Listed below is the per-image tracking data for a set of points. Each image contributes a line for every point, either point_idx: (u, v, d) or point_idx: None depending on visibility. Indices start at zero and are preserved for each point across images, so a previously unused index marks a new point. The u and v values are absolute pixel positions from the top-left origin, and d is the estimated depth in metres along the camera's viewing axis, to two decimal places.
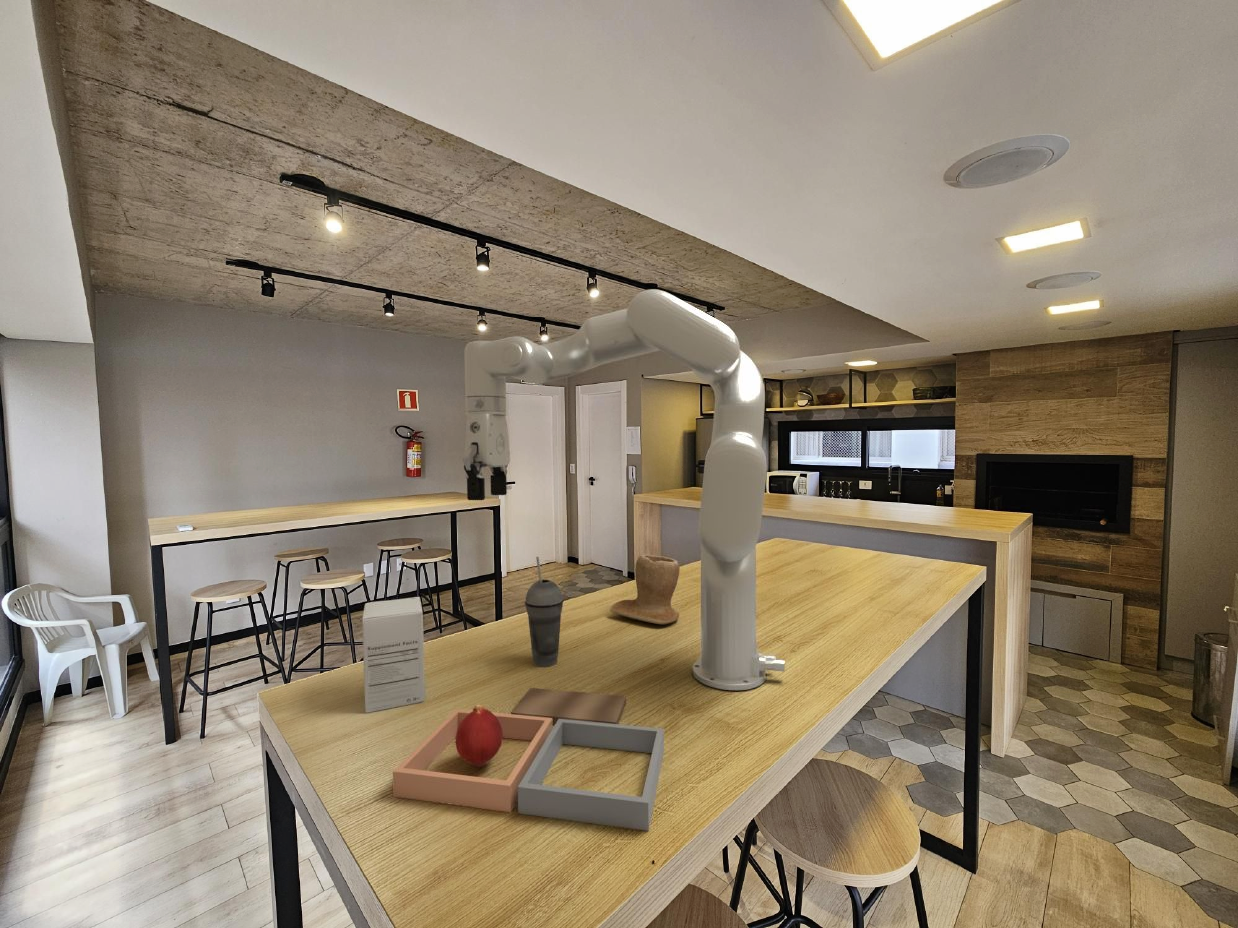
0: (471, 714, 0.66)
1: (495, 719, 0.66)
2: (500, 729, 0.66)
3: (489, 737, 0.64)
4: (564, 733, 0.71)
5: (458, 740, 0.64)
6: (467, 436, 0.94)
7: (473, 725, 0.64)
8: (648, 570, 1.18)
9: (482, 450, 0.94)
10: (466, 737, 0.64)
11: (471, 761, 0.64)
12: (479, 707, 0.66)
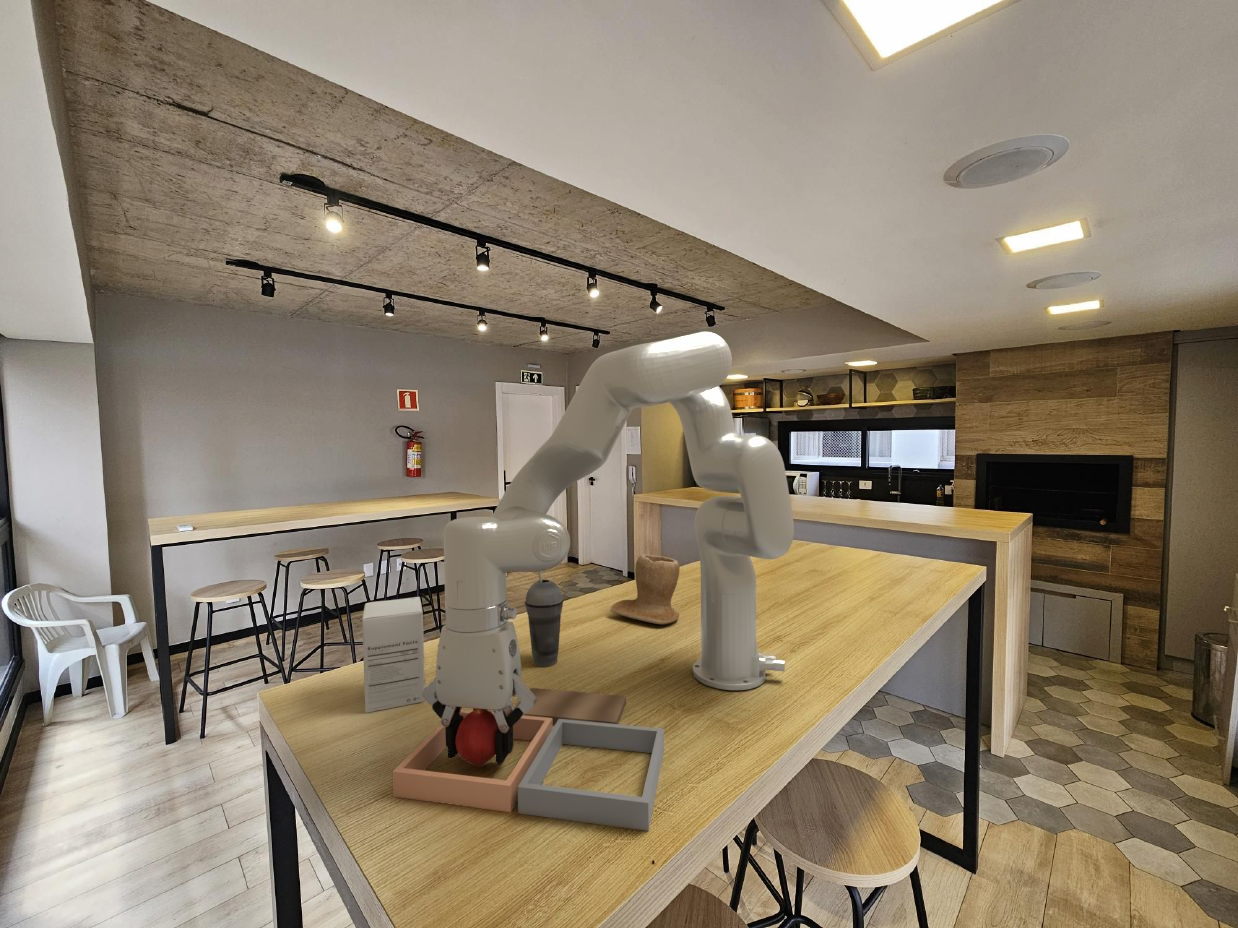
0: (471, 714, 0.66)
1: (495, 719, 0.66)
2: None
3: (489, 737, 0.64)
4: (564, 733, 0.71)
5: (458, 740, 0.64)
6: (508, 665, 0.63)
7: (473, 725, 0.64)
8: (648, 570, 1.18)
9: (520, 675, 0.66)
10: (466, 737, 0.64)
11: (470, 761, 0.64)
12: None
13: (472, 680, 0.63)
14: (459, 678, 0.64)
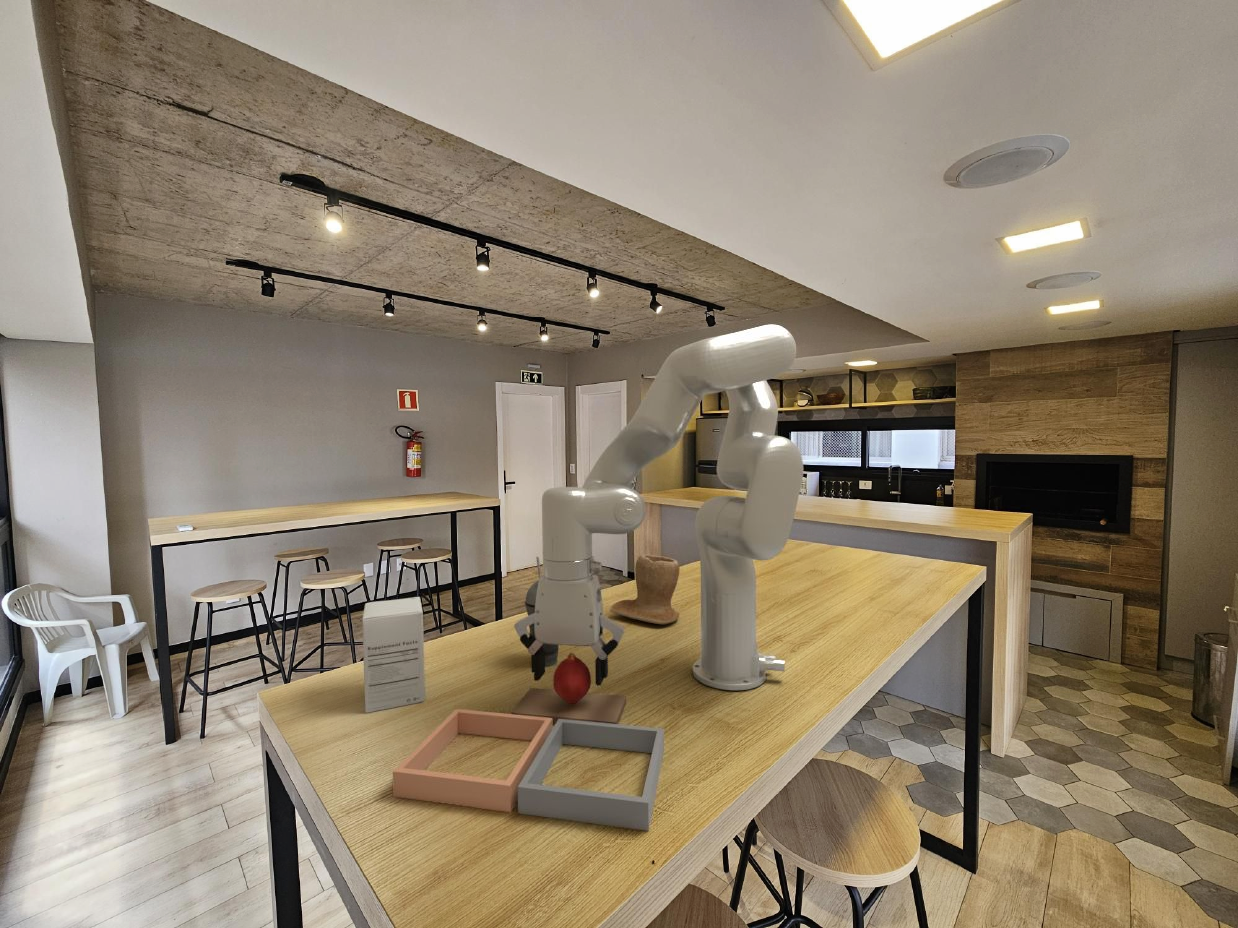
0: (566, 660, 0.79)
1: (585, 665, 0.79)
2: (589, 673, 0.79)
3: (582, 678, 0.77)
4: (564, 733, 0.71)
5: (557, 681, 0.77)
6: (596, 608, 0.76)
7: (569, 668, 0.77)
8: (648, 570, 1.18)
9: None
10: (564, 678, 0.77)
11: (568, 698, 0.77)
12: (572, 654, 0.79)
13: (567, 621, 0.76)
14: (555, 619, 0.77)
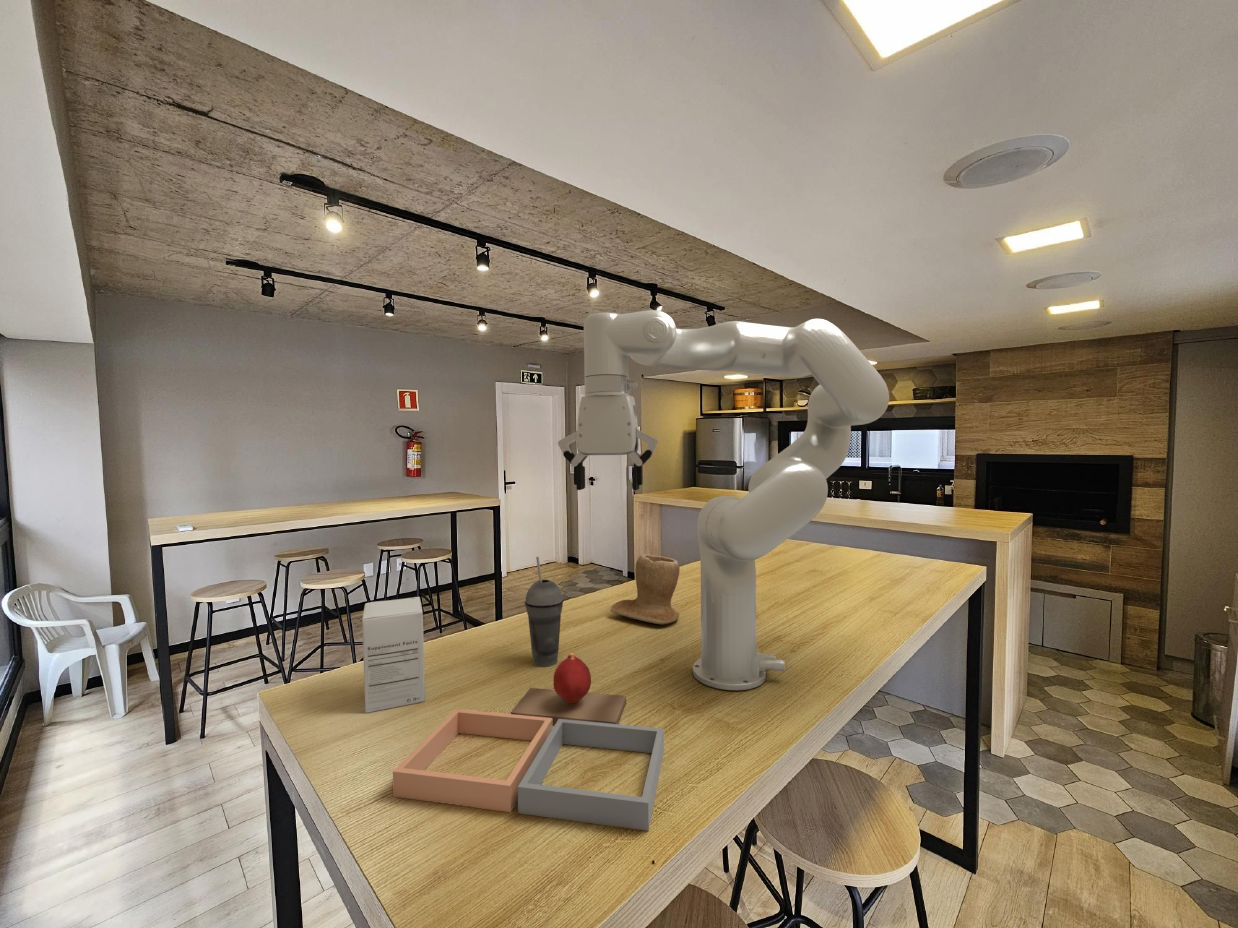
0: (566, 660, 0.79)
1: (585, 665, 0.79)
2: (589, 673, 0.79)
3: (582, 678, 0.77)
4: (564, 733, 0.71)
5: (557, 681, 0.77)
6: (633, 420, 0.86)
7: (569, 668, 0.77)
8: (648, 570, 1.18)
9: None
10: (564, 678, 0.77)
11: (568, 698, 0.77)
12: (572, 654, 0.79)
13: (607, 431, 0.86)
14: (596, 430, 0.86)
